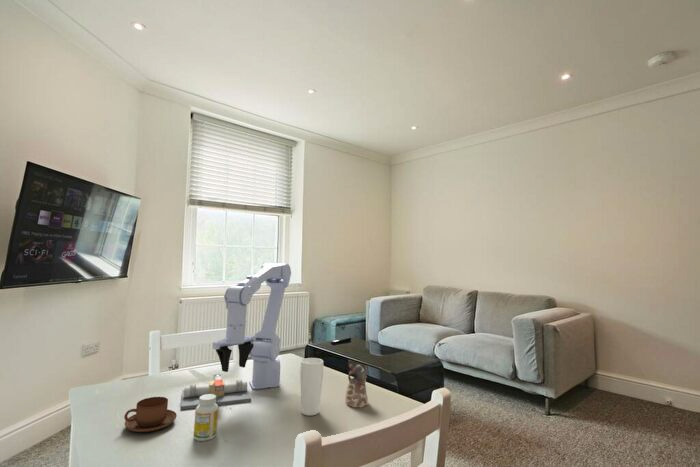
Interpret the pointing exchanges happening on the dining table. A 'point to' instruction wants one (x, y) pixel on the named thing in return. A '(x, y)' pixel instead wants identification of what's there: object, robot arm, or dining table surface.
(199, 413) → the supplement bottle
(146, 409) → the cup and saucer
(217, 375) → the valve lever
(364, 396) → the figurine
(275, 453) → the dining table surface
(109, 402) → the dining table surface
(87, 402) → the dining table surface
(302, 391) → the drinking glass
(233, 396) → the valve board
